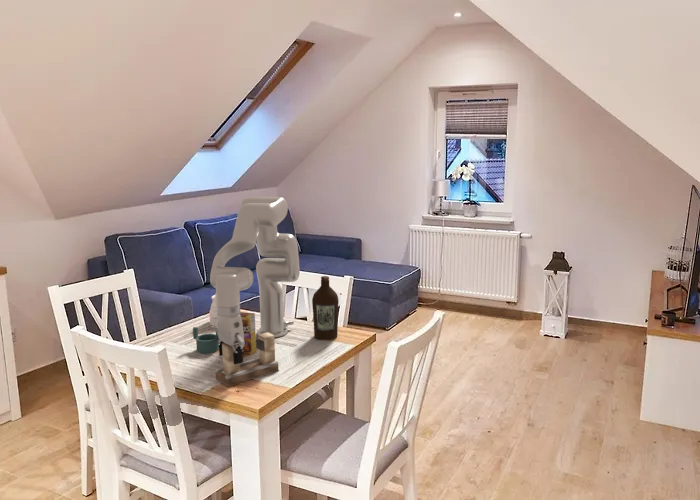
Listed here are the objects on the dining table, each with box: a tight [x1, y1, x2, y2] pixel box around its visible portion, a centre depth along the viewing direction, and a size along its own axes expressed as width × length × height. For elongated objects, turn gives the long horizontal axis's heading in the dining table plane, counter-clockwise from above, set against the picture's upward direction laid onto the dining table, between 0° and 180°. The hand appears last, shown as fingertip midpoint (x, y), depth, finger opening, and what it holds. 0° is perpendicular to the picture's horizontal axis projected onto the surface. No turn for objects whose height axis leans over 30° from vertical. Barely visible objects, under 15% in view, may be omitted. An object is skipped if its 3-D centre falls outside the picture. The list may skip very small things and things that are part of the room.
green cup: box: [192, 326, 220, 355], centre depth 226 cm, size 9×9×9 cm
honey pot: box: [208, 293, 218, 328], centre depth 258 cm, size 13×13×18 cm
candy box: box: [236, 311, 257, 355], centre depth 223 cm, size 9×4×15 cm, turn 73°
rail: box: [214, 332, 280, 387], centre depth 202 cm, size 20×8×12 cm, turn 130°
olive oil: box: [311, 275, 340, 341], centre depth 238 cm, size 11×11×25 cm
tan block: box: [222, 342, 240, 375], centre depth 198 cm, size 5×4×10 cm
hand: (231, 359), depth 198 cm, fingers open, 9 cm apart
